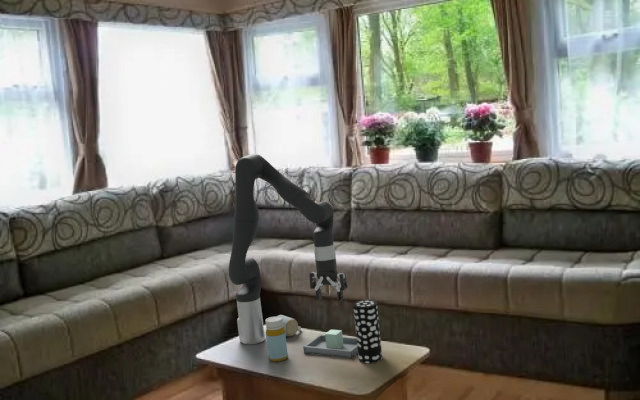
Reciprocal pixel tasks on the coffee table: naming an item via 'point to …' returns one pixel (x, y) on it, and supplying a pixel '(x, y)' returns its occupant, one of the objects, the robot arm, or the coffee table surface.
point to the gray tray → (320, 348)
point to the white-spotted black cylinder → (367, 331)
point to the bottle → (276, 339)
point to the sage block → (334, 339)
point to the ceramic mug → (290, 325)
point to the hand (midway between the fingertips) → (330, 300)
